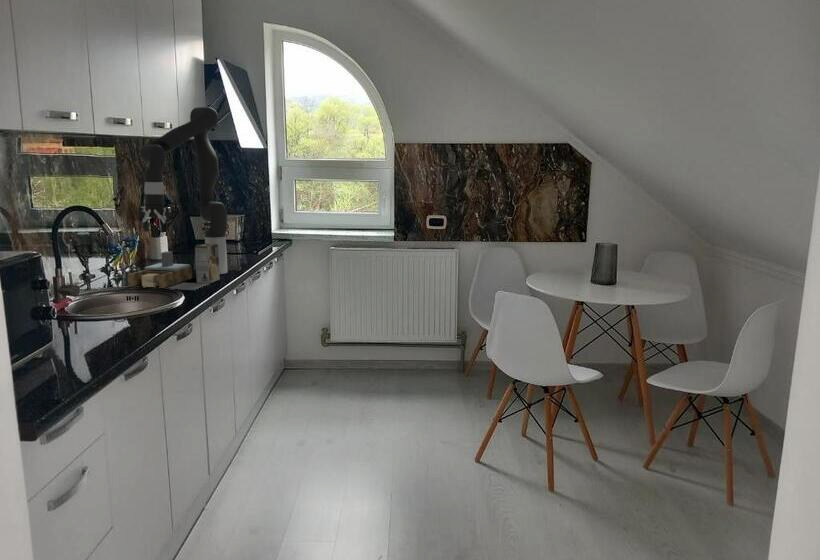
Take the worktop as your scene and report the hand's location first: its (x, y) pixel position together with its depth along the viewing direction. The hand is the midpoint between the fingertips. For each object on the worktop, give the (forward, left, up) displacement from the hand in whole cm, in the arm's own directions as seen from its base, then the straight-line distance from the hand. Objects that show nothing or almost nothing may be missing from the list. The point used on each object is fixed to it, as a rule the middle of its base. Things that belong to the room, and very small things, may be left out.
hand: (155, 231), depth 268 cm
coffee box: (-8, +18, -22) cm, 30 cm away
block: (+7, 0, -22) cm, 23 cm away
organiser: (-1, 0, -22) cm, 22 cm away
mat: (+5, +16, -22) cm, 28 cm away
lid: (-7, 0, -17) cm, 18 cm away
